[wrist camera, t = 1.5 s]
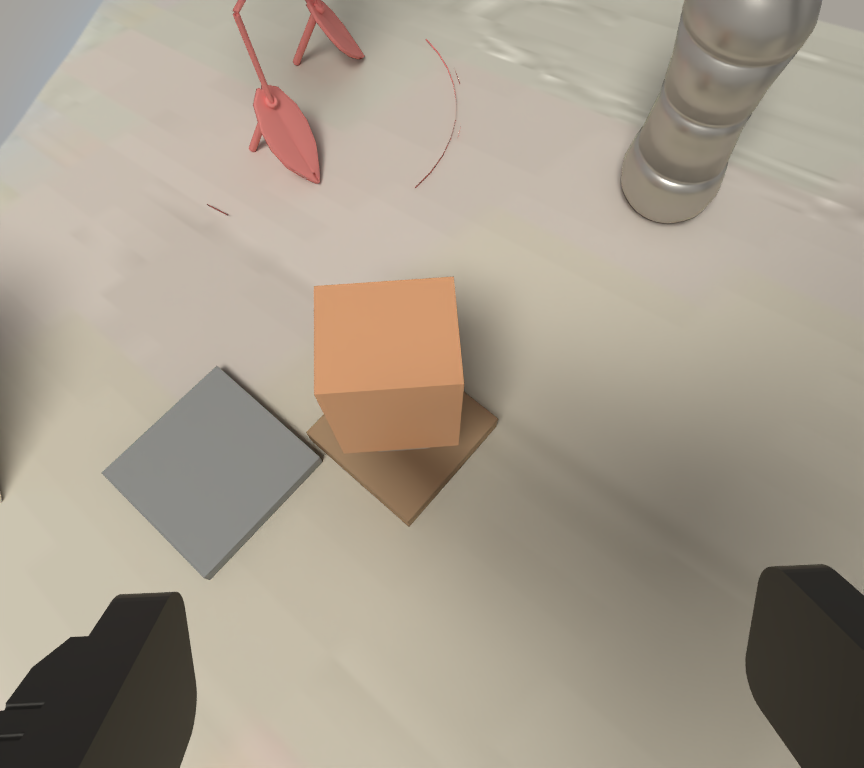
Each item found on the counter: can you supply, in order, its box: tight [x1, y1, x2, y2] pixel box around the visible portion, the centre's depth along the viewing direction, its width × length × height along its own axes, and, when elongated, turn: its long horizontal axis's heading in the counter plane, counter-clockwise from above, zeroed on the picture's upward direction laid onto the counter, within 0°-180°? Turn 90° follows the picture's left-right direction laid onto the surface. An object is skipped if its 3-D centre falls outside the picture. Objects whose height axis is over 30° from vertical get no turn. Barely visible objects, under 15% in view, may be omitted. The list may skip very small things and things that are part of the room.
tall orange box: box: [314, 277, 464, 454], centre depth 30 cm, size 5×6×8 cm
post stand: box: [306, 391, 498, 526], centre depth 33 cm, size 11×11×12 cm
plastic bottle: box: [621, 0, 822, 223], centre depth 36 cm, size 6×7×20 cm
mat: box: [102, 366, 323, 580], centre depth 38 cm, size 9×9×1 cm
